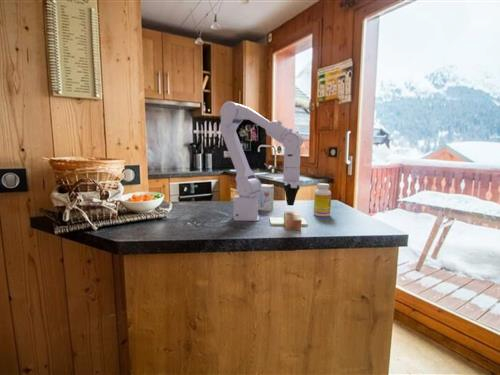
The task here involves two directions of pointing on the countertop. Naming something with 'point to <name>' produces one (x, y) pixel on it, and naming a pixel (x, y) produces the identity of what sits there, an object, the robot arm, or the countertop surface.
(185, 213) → the countertop surface
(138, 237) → the countertop surface
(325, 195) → the supplement bottle
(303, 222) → the sage board
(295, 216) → the beech block
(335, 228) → the countertop surface
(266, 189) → the light bulb box
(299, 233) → the countertop surface
